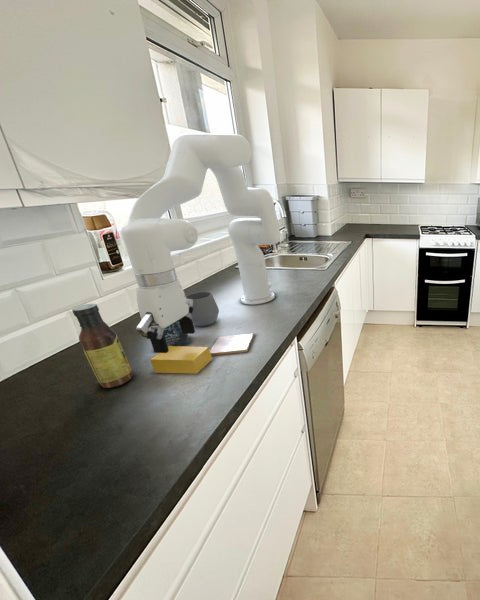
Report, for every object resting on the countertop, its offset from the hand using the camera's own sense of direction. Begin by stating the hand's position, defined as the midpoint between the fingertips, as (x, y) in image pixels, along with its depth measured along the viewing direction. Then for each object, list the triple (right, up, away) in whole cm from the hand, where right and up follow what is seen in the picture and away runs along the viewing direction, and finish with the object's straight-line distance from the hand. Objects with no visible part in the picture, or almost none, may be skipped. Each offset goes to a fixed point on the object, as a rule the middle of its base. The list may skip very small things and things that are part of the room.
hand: (176, 342), depth 79 cm
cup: (-9, +3, +27) cm, 28 cm away
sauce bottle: (-12, -9, -3) cm, 16 cm away
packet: (0, -7, +3) cm, 7 cm away
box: (-11, -3, +14) cm, 17 cm away
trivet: (+7, -3, +13) cm, 15 cm away
